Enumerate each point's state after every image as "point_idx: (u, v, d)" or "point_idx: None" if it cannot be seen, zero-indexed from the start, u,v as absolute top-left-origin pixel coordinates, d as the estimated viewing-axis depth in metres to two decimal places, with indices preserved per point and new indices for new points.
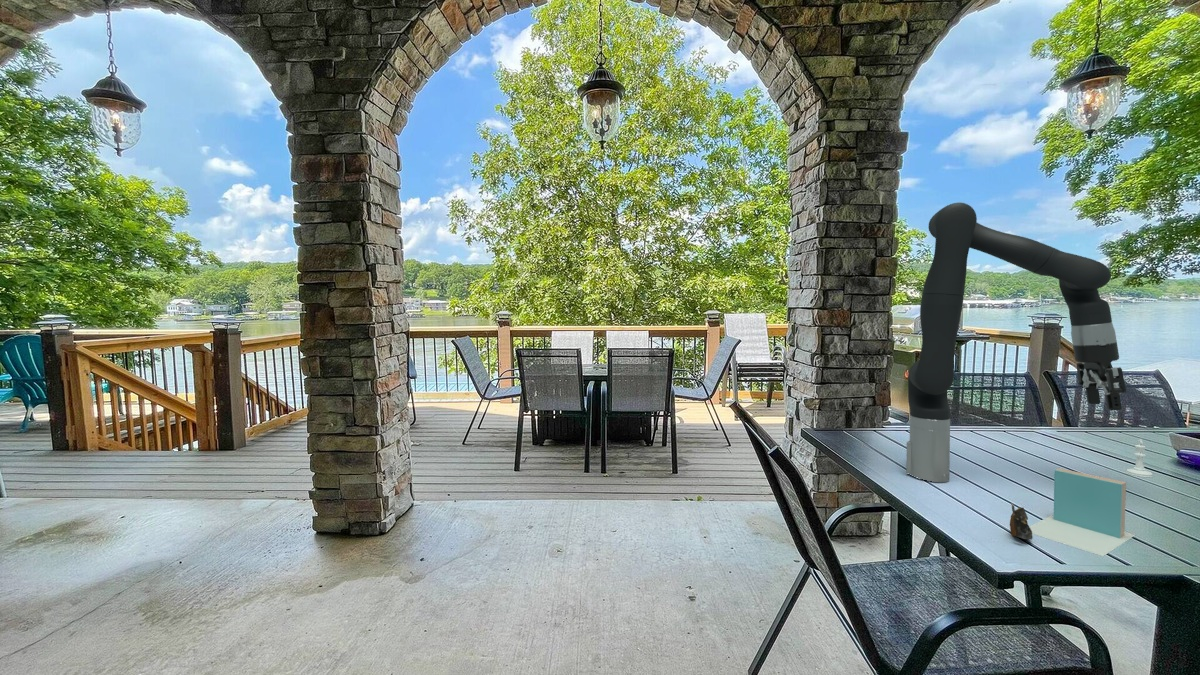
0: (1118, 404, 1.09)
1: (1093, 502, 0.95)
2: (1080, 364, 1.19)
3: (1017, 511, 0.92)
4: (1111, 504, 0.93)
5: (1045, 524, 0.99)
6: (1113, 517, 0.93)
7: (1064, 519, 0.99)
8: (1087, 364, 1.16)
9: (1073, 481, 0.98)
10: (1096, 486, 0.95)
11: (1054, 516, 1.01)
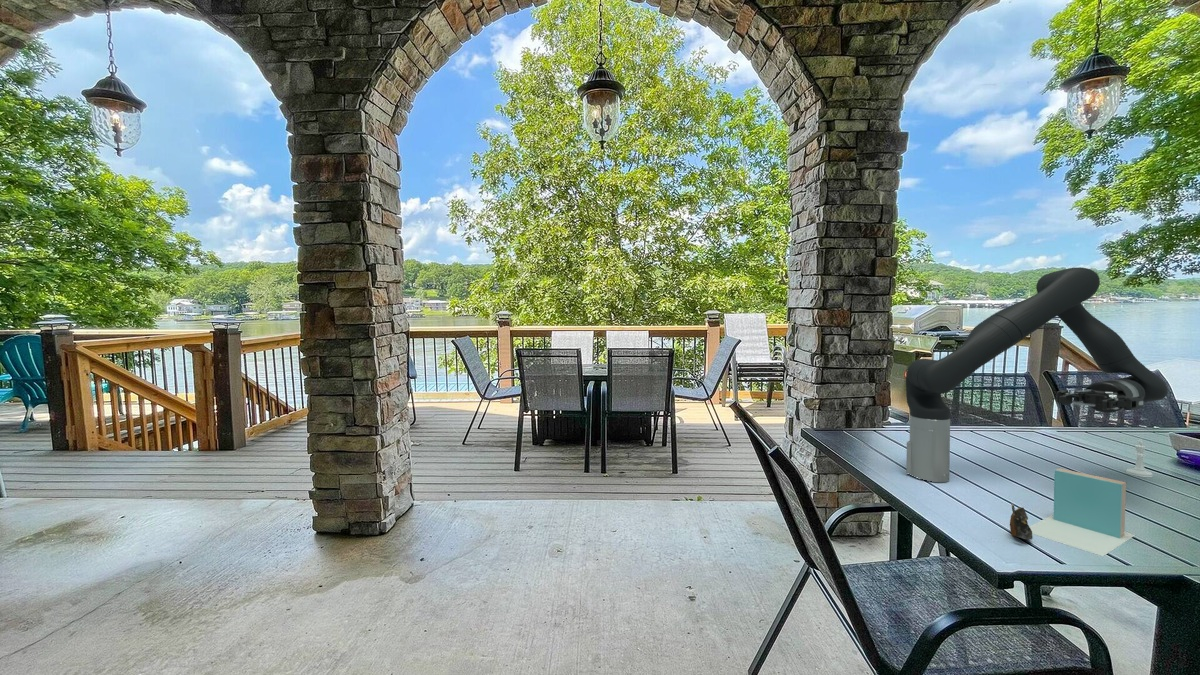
0: (1113, 406, 1.02)
1: (1093, 502, 0.95)
2: None
3: (1017, 511, 0.92)
4: (1111, 504, 0.93)
5: (1045, 524, 0.99)
6: (1113, 517, 0.93)
7: (1064, 519, 0.99)
8: None
9: (1073, 481, 0.98)
10: (1096, 486, 0.95)
11: (1054, 516, 1.01)
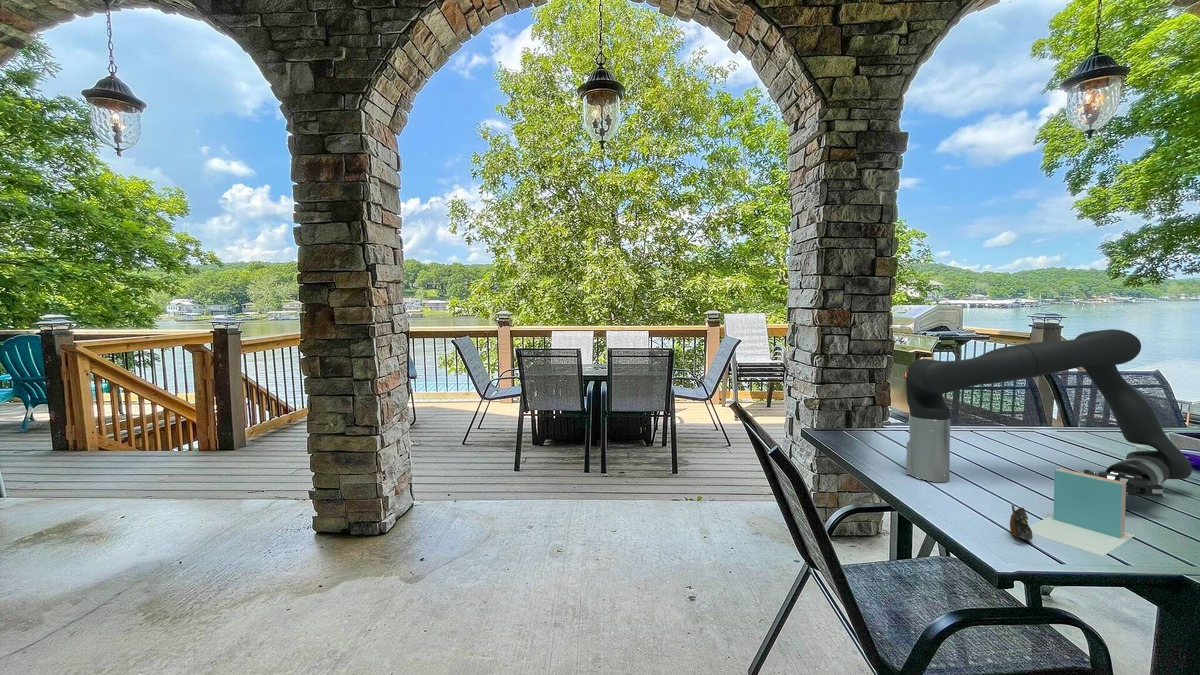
0: None
1: (1093, 502, 0.95)
2: None
3: (1017, 511, 0.92)
4: (1111, 504, 0.93)
5: (1045, 524, 0.99)
6: (1113, 517, 0.93)
7: (1064, 519, 0.99)
8: None
9: (1073, 481, 0.98)
10: (1096, 486, 0.95)
11: (1054, 516, 1.01)
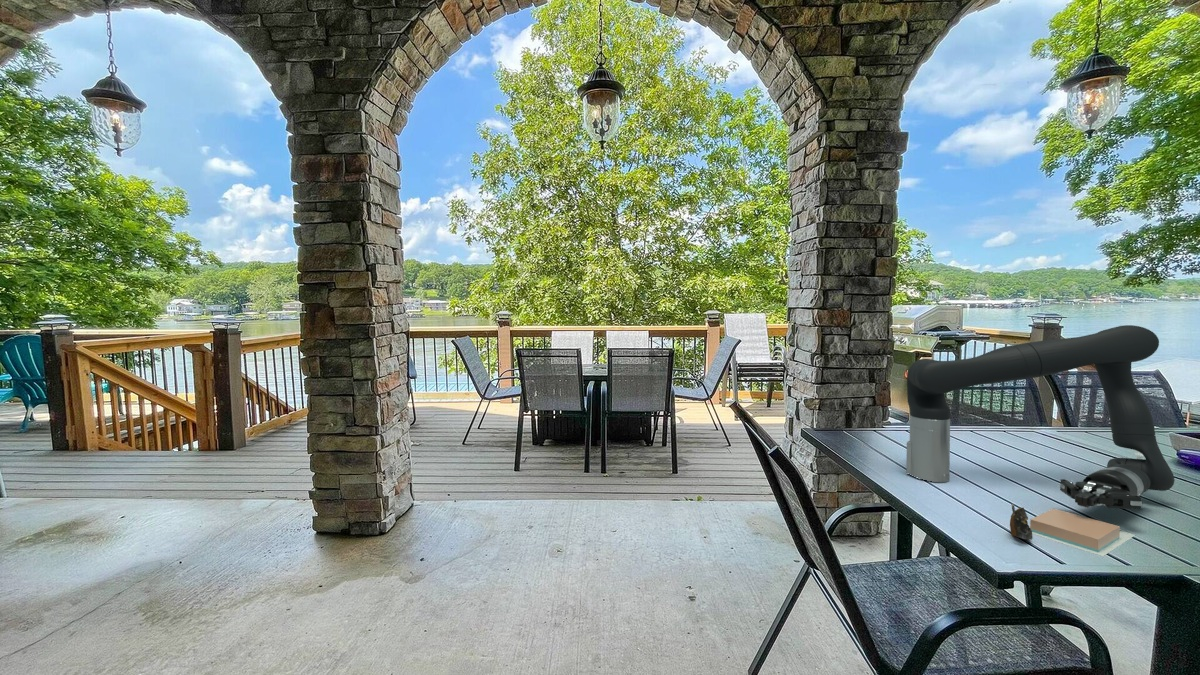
0: (1094, 504, 0.95)
1: None
2: None
3: (1017, 511, 0.92)
4: None
5: None
6: None
7: None
8: None
9: None
10: None
11: None
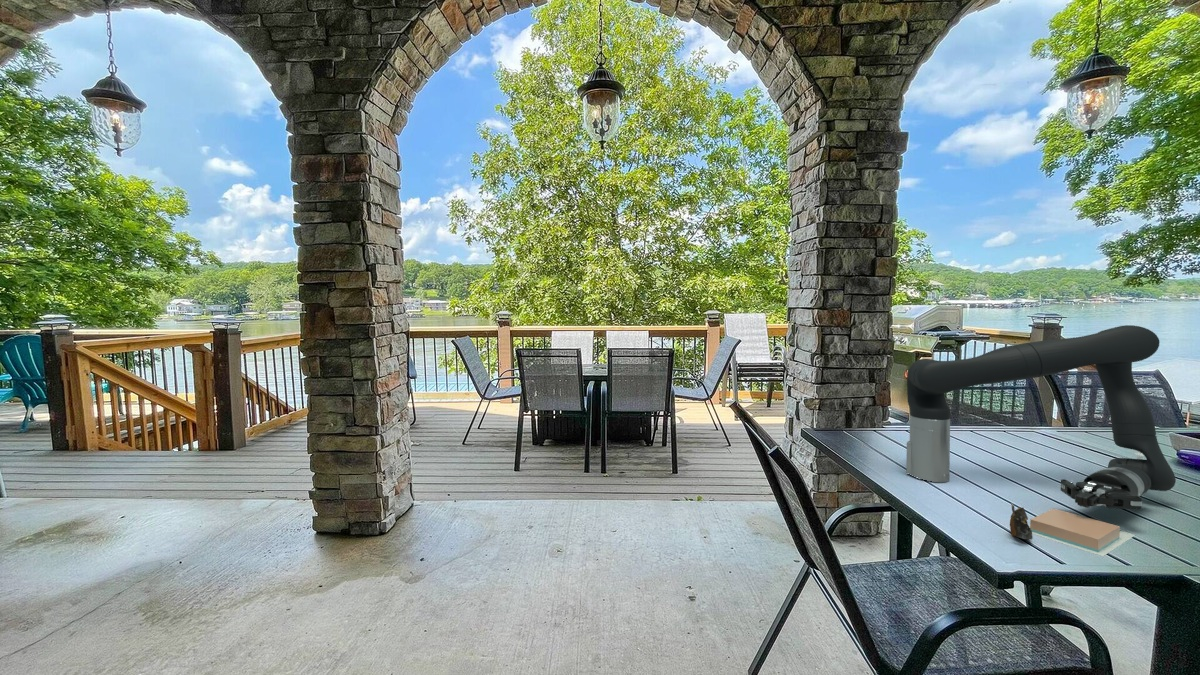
0: (1094, 504, 0.95)
1: None
2: None
3: (1017, 511, 0.92)
4: None
5: None
6: None
7: None
8: None
9: None
10: None
11: None
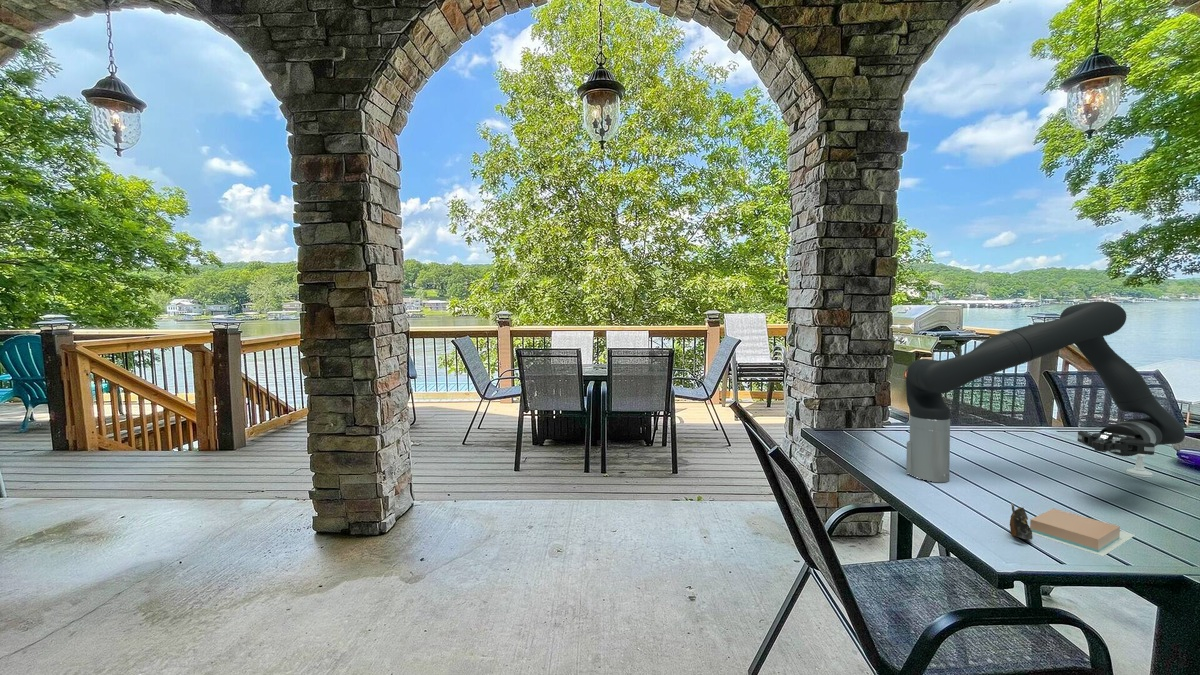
0: (1110, 449, 1.03)
1: None
2: None
3: (1017, 511, 0.92)
4: None
5: None
6: None
7: None
8: None
9: None
10: None
11: None
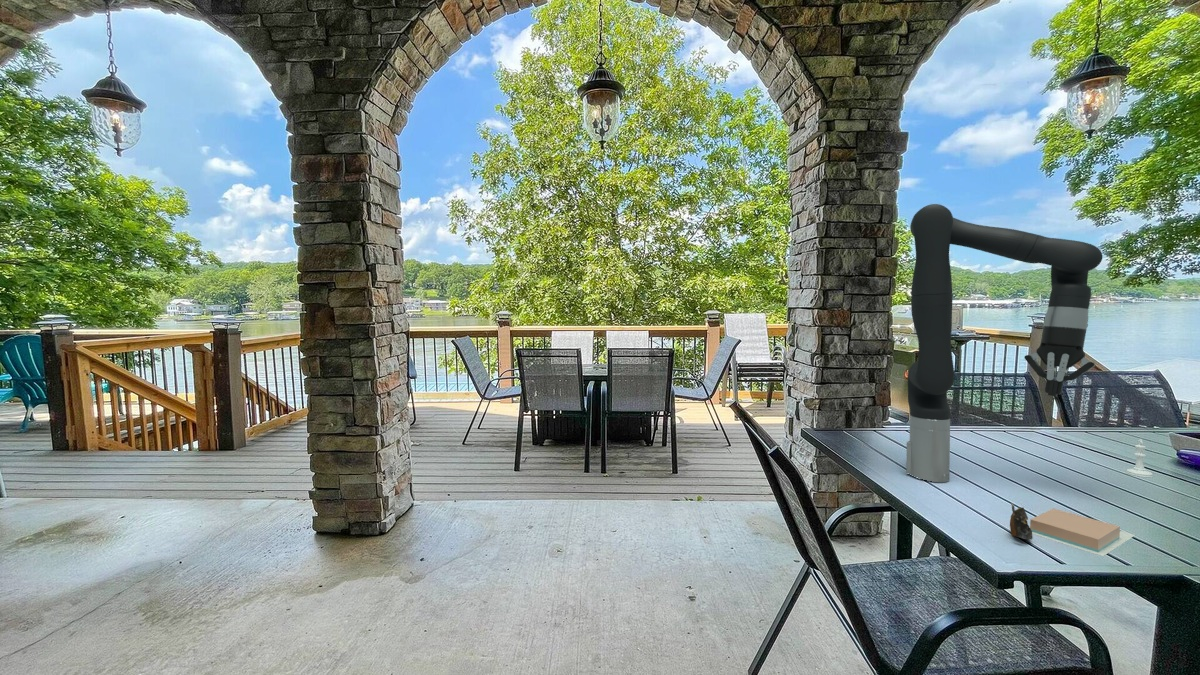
0: (1061, 391, 1.13)
1: None
2: (1029, 355, 1.17)
3: (1017, 511, 0.92)
4: None
5: None
6: None
7: None
8: (1049, 348, 1.14)
9: None
10: None
11: None
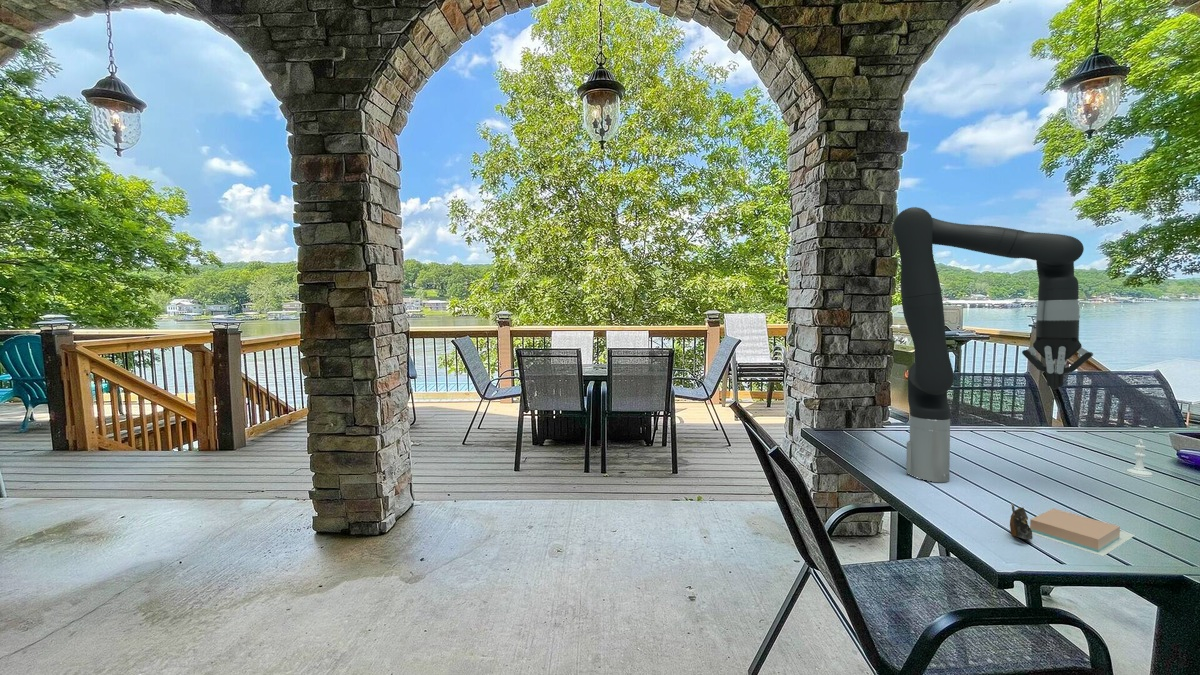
0: (1063, 383, 1.13)
1: None
2: None
3: (1017, 511, 0.92)
4: None
5: None
6: None
7: None
8: (1045, 341, 1.14)
9: None
10: None
11: None
